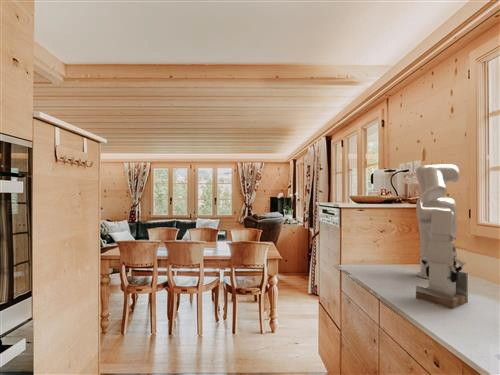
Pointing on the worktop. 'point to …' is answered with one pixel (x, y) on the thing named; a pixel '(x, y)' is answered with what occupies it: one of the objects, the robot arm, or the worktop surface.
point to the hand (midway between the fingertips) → (441, 279)
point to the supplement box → (441, 278)
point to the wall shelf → (446, 298)
